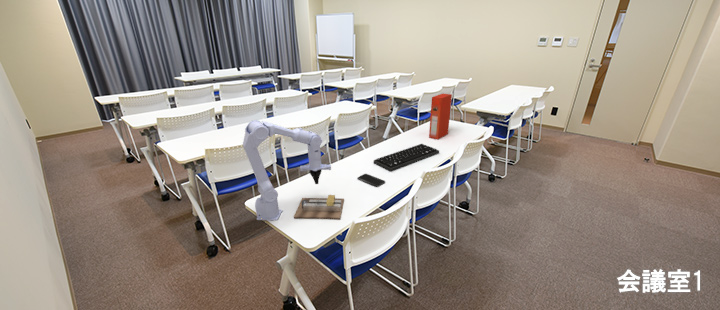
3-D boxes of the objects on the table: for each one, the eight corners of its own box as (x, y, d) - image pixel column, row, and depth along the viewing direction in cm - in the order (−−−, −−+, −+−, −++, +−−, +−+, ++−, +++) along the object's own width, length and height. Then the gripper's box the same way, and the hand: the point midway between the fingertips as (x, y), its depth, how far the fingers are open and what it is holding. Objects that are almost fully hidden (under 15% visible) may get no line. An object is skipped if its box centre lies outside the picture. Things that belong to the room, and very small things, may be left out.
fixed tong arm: (300, 211, 133) (300, 204, 132) (303, 205, 137) (302, 199, 136) (340, 211, 132) (339, 205, 131) (341, 206, 136) (341, 200, 135)
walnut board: (293, 218, 130) (293, 216, 129) (302, 199, 144) (302, 197, 144) (340, 219, 128) (340, 217, 128) (344, 200, 143) (344, 198, 143)
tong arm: (309, 207, 136) (308, 201, 135) (310, 204, 138) (309, 199, 136) (341, 207, 135) (340, 202, 134) (341, 205, 137) (341, 200, 136)
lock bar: (326, 205, 131) (326, 202, 130) (328, 198, 136) (328, 195, 136) (333, 205, 130) (332, 202, 130) (335, 198, 136) (334, 195, 136)
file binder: (428, 137, 226) (432, 97, 213) (438, 132, 238) (442, 93, 225) (438, 139, 221) (442, 98, 209) (447, 134, 233) (452, 94, 221)
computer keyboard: (390, 172, 172) (390, 167, 170) (373, 164, 183) (373, 158, 182) (438, 154, 197) (439, 149, 195) (421, 147, 208) (421, 142, 207)
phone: (377, 186, 154) (356, 177, 163) (377, 188, 155) (356, 179, 164) (386, 181, 159) (365, 173, 169) (386, 183, 160) (365, 174, 169)
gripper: (297, 161, 131) (300, 187, 136) (329, 160, 132) (331, 186, 137) (300, 155, 137) (302, 180, 143) (330, 154, 138) (332, 179, 143)
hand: (316, 183), depth 140 cm, fingers closed
